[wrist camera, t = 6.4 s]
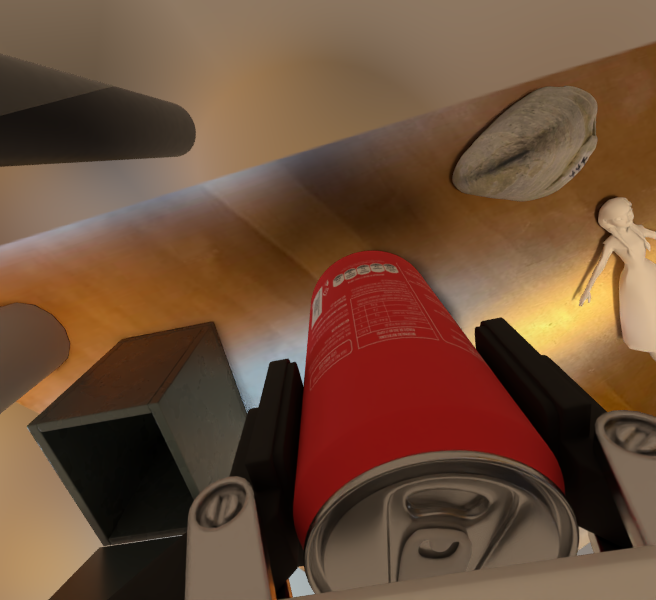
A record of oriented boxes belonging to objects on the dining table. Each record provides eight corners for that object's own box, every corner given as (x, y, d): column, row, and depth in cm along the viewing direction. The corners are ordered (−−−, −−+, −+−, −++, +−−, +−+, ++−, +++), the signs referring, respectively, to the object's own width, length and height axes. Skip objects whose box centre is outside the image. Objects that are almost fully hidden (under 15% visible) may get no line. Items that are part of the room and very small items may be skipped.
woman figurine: (626, 391, 37) (562, 235, 33) (597, 369, 42) (537, 228, 37) (752, 338, 35) (702, 162, 30) (708, 320, 39) (659, 164, 35)
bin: (121, 339, 41) (25, 426, 28) (213, 321, 40) (157, 402, 27) (166, 435, 46) (103, 546, 33) (249, 421, 45) (217, 530, 32)
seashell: (467, 227, 36) (488, 239, 31) (433, 146, 33) (449, 146, 29) (592, 162, 34) (634, 164, 29) (565, 70, 31) (606, 56, 26)
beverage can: (431, 248, 17) (647, 454, 6) (412, 350, 19) (543, 653, 7) (315, 239, 16) (296, 434, 5) (308, 343, 18) (283, 643, 7)
